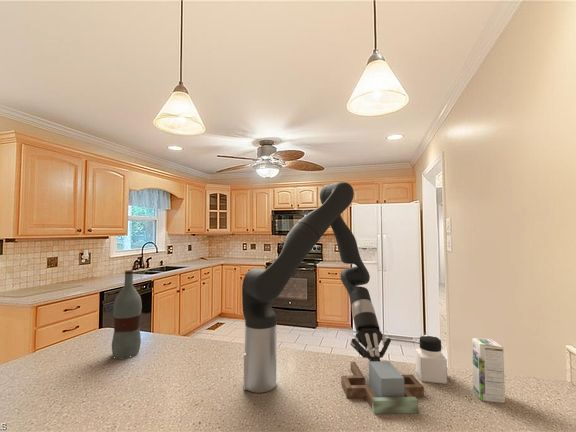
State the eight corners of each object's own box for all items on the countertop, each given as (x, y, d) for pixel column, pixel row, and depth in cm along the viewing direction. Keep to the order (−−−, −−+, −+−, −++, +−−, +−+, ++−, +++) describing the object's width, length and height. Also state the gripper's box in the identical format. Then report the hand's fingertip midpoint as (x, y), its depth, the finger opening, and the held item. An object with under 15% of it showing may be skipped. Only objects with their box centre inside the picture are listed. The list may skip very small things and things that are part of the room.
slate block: (381, 407, 74) (381, 378, 74) (369, 386, 84) (368, 361, 84) (404, 406, 74) (404, 378, 75) (389, 386, 84) (389, 361, 85)
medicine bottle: (447, 384, 85) (446, 342, 86) (421, 381, 87) (420, 340, 88) (440, 373, 92) (439, 334, 93) (416, 370, 94) (415, 332, 94)
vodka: (136, 347, 113) (139, 268, 114) (143, 354, 106) (146, 270, 108) (108, 353, 106) (111, 270, 108) (114, 362, 99) (117, 273, 101)
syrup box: (472, 389, 82) (470, 337, 83) (495, 392, 81) (493, 338, 82) (481, 401, 77) (479, 344, 78) (506, 403, 76) (504, 346, 76)
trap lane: (353, 414, 71) (353, 401, 71) (335, 370, 94) (335, 360, 94) (438, 412, 72) (438, 399, 72) (399, 369, 95) (399, 359, 95)
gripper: (346, 311, 95) (357, 367, 82) (386, 310, 96) (403, 366, 83) (343, 322, 100) (352, 377, 87) (381, 322, 101) (396, 376, 88)
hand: (377, 371), depth 85 cm, fingers closed
